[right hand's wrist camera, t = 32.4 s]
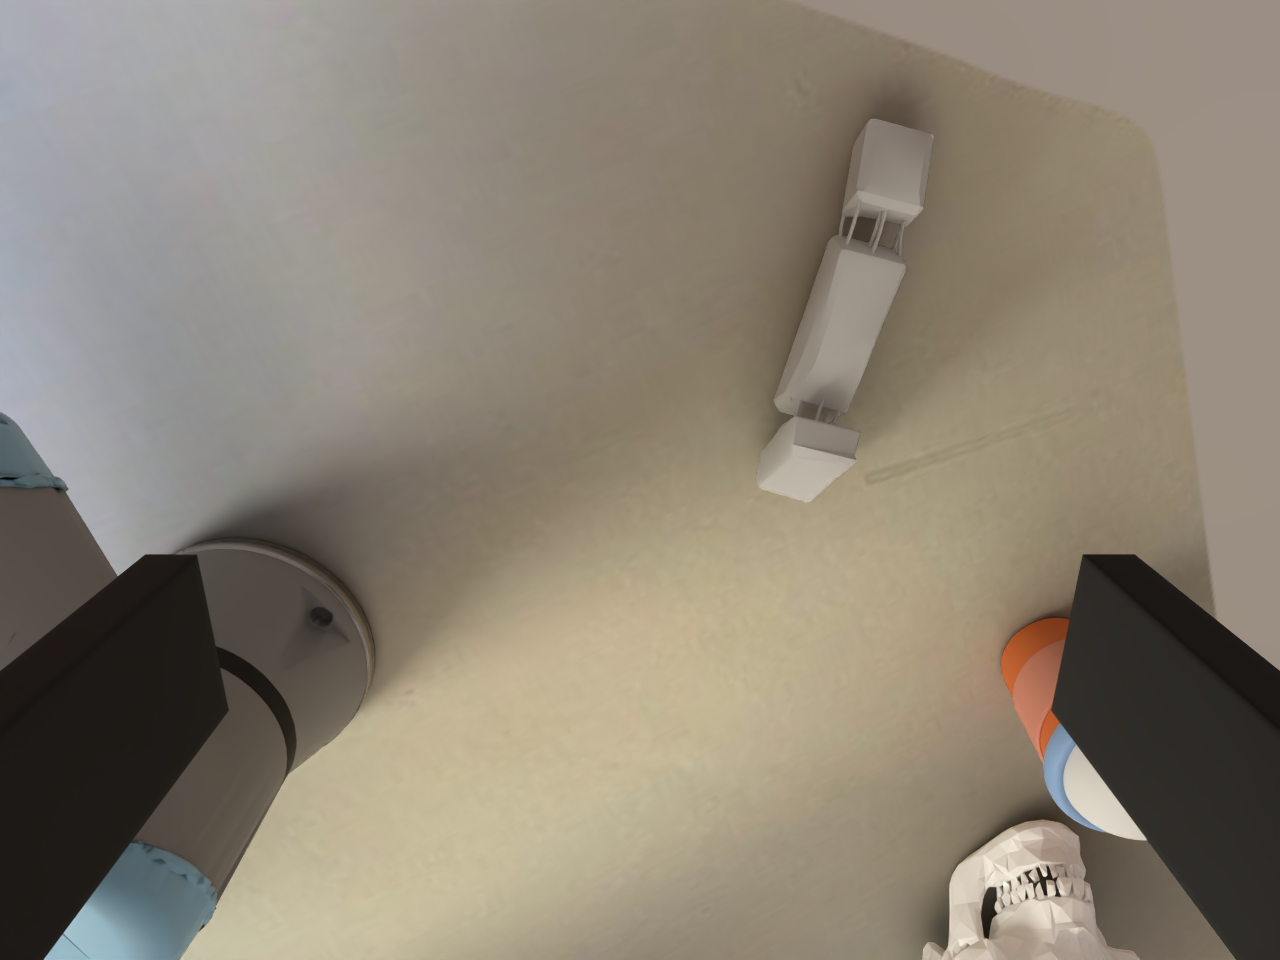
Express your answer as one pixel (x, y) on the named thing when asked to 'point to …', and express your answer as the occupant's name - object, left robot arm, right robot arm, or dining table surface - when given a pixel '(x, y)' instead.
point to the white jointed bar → (845, 314)
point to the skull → (1025, 901)
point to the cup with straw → (1058, 730)
